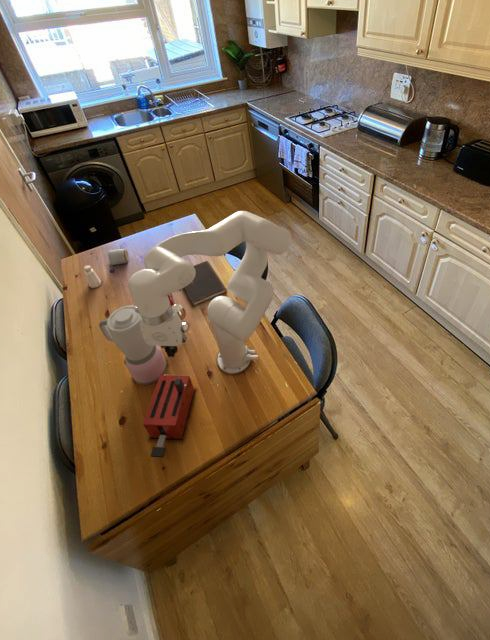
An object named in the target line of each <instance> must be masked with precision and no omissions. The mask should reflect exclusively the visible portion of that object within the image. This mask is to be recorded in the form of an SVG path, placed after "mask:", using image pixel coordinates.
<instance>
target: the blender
mask: <svg viewBox="0 0 490 640" xmlns="http://www.w3.org/2000/svg"><path fill="white" fill-rule="evenodd" d="M136 307H137V306H136V305H133V304H131V305H130V304H129V305H124V306H121V307H119V308H116V309H115V310H114V311H112V312H111V314H110V315H109V316H108V318H107V319H103V320H101V321H100V322H99V324H98V326H99V329H100V330H101V333H102V334H103V336H104V337H105V339H106V340H107V341H109V342H114V344H115V346H116V347H117V349H118V350H119V351H120V352H121V353H122V354H123V355H124V361H123V362H124V365H125V367H126V369H127V370H128V372H129V374H130V375H131V378H132V379H133V381H134V382H135V383H136V384H138V385H141V386H148V385H151V384H154V383H157V382H158V379H159V376H160V375H165V374H166V371H167V367H168V363H167V360H166V358H165V356H164V354H163V351H162V348H161V346H153V345H148V344H146V342H145V341H144V338H143V336H142V332H141V328H140V320H139V319H140V316H141V315H140V313H138V312H135V308H136Z"/></svg>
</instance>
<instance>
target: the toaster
mask: <svg viewBox="0 0 490 640" xmlns="http://www.w3.org/2000/svg"><path fill="white" fill-rule="evenodd" d="M176 379H181V380H182V382H183V385H184V388H183V391H182V392H177V389H176V387H175V385H174V384H175V381H176ZM195 395H196V389H195V387H194V385H193V382H192V379H191V377H190V375H186V374H185V375H180V374H164V375H160V376H159V379H158V380H157V381H156V385H155V388H154V390H153V394H152V397H151V399H150V402H149V405H148V408H147V410H146V413H145V416H144V419H143V422H142V426H143V428H144V429H145V431H146V433H147V435H148V436H149V439H150V440H157V441H158V440H159V436H160V435H166V439H165V441H184V437H185V433H186V429H187V427H188V426H187V425H188V421H189V418H190V413H191V410H192V405H193V402H194V398H195Z"/></svg>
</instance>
